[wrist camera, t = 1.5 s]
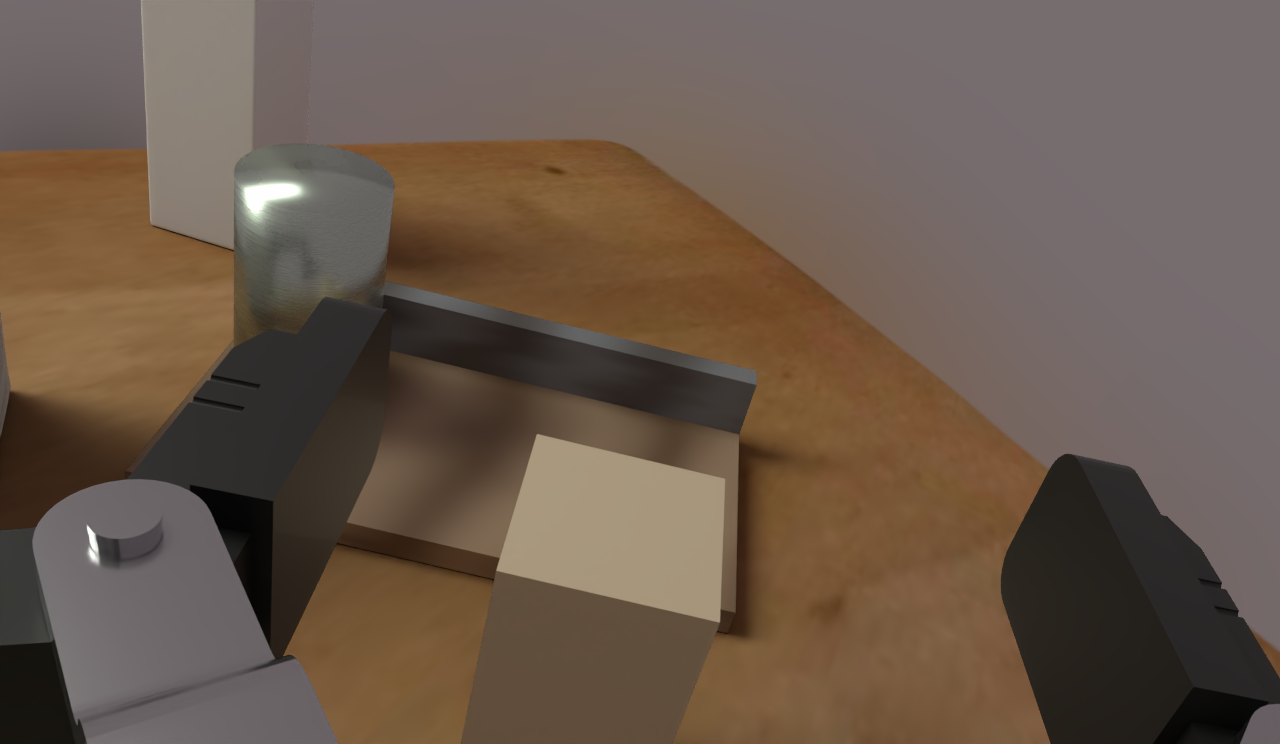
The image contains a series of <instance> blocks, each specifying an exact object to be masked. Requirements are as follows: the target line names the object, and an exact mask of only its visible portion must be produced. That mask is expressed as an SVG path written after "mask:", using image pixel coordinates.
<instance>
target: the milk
mask: <svg viewBox="0 0 1280 744" xmlns="http://www.w3.org/2000/svg"><path fill="white" fill-rule="evenodd" d="M313 5H314V0H141V13H142V14H141V15H142V38H143V60H144V84H145V106H146V127H147V152H148V175H149V198H150V220H151V224H152V225H153V226H157V227H160V228H163V229H166V230H170V231H173V232H176V233H179V234H183V235H186V236H189V237H192V238H195V239H199V240H202V241H205V242H208V243H212V244H215V245H218V246H221V247H225V248H228V249H231V250H234V169H235V165H236V164H237V162H238V161H239V160H240V158H242V157H243V156H244V155H246V154H248V153H249V152H251V151H254V150H257V149H260V148H263V147H267V146H272V145H280V144H307V132H308V110H309V89H310V67H311V47H312V26H313Z"/></svg>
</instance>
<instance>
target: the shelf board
mask: <svg viewBox="0 0 1280 744" xmlns="http://www.w3.org/2000/svg"><path fill="white" fill-rule="evenodd" d="M382 309H387V310H390V312H391V315H392V333H391V345H390V356H389V367H388V378H387V390H386V401H385V412H384V422H383V429H382V434H381V439H380V444H379V448H378V452H377V455H376V458H375V461H374V464H373V467H372V470H371V472H370V474H369V476H368V478H367V481H366V483H365V485H364V487H363V489H362V491H361V493H360V495H359V497H358V499H357V502H356V504H355V506H354V508H353V510H352V512H351V514H350V516H349V518H348V520H347V522H346V525H345V527H344V529H343V531H342V533H341V535H340V537H339V539H338V541H337V543H339V544H344V545H348V546H352V547H356V548H361V549H365V550H369V551H374V552H378V553H382V554H387V555H391V556H395V557H400V558H404V559H408V560H413V561H417V562H421V563H426V564H430V565H434V566H439V567H443V568H447V569H452V570H456V571H460V572H465V573H469V574H473V575H477V576H482V577H486V578H490V579H495V574H496V570H497V566H498V563H499V560H500V556H501V553H502V550H503V546H504V543H505V540H506V536H507V533H508V529H509V526H510V523H511V519H512V516H513V513H514V509H515V506H516V503H517V499H518V496H519V493H520V489H521V486H522V482H523V479H524V476H525V472H526V469H527V466H528V462H529V459H530V456H531V452H532V449H533V446H534V442H535V439H536V436H537V434H539V435H543V436H547V437H552V438H556V439H560V440H564V441H568V442H573V443H577V444H581V445H585V446H589V447H594V448H598V449H602V450H606V451H610V452H615V453H619V454H623V455H627V456H631V457H636V458H640V459H644V460H648V461H652V462H657V463H661V464H665V465H669V466H673V467H678V468H682V469H686V470H690V471H694V472H699V473H703V474H707V475H711V476H715V477H720V478H724V479H725V499H724V527H723V554H722V582H721V609H720V624H719V626H718V629H717V631H720V632H724V633H728V631H729V628H730V626H731V623H732V621H733V618H734V616H735V613H736V568H737V516H738V463H739V433H740V430H741V427H742V425H743V422H744V419H745V416H746V413H747V410H748V408H749V405H750V402H751V399H752V396H753V393H754V391H755V388H756V371H753V370H749V369H745V368H741V367H737V366H733V365H729V364H725V363H721V362H716V361H712V360H708V359H704V358H700V357H696V356H692V355H688V354H684V353H680V352H675V351H671V350H667V349H663V348H659V347H655V346H651V345H647V344H643V343H638V342H634V341H630V340H626V339H622V338H618V337H614V336H610V335H606V334H602V333H597V332H593V331H589V330H585V329H581V328H577V327H573V326H569V325H565V324H560V323H556V322H552V321H548V320H544V319H540V318H536V317H532V316H528V315H523V314H519V313H515V312H511V311H507V310H503V309H499V308H495V307H491V306H487V305H482V304H478V303H474V302H470V301H466V300H462V299H458V298H454V297H450V296H445V295H441V294H437V293H433V292H429V291H425V290H421V289H417V288H413V287H409V286H404V285H400V284H396V283H392V282H388V281H385V287H384V297H383V307H382ZM233 347H234V339H233V341H232V342H231V343H230V344H229V346H228V347H227V348H226V349H225V350H224V352H223V353H222V354H221V355H220V356H219V358H218V359H217V360H216V361H215V363H214V364H213V365H212V366H211V367H210V369H209V370H208V371H207V372H206V373H205V375H204V376H203V377H202V378H201V379H200V381H199V382H198V383H197V384H196V386H195V387H194V388H193V389H192V390H191V392H190V393H189V394H188V395H187V396H186V398H185V399H184V400H183V401H182V403H181V404H180V405H179V406H178V407H177V409H176V410H175V411H174V412H173V413H172V415H171V416H170V417H169V418H168V419H167V421H166V422H165V423H164V424H163V426H162V427H161V428H160V429H159V430H158V432H157V433H156V434H155V435H154V436H153V438H152V439H151V440H150V441H149V443H148V444H147V445H146V446H145V447H144V449H143V450H142V451H141V452H140V453H139V455H138V456H137V457H136V458H135V459H134V461H133V462H132V463H131V464H130V466H129V467H128V468H127V469H126V470H125V476H126V480H127V479H128V477H129V476H130V475H131V474H132V472H133V471H134V470H135V469H136V467H137V466H138V465H139V464H140V462H141V461H142V460H143V459H144V457H145V456H146V455H147V454H148V452H149V451H150V450H151V449H152V447H153V446H154V445H155V444H156V442H157V441H158V440H159V439H160V438H161V436H162V435H163V434H164V433H165V431H166V430H167V429H168V428H169V426H170V425H171V424H172V423H173V421H174V420H175V419H176V418H177V416H178V415H179V414H180V413H181V411H182V410H183V409H184V408H185V406H186V405H187V404H188V403H189V402H190V403H192V401H193V397H194V395H195V394H196V393H197V392H198V390H199V389H200V388H201V387H202V385H203V384H204V383H205V382H206V380H210V379H211V374H212V373H213V372H214V370H215V369H216V368H217V367H218V365H219V364H220V363H221V362H222V360H223V359H224V358H225V357H226V356H227V354H228V353H229V352H230V351H231V349H232V348H233Z"/></svg>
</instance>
